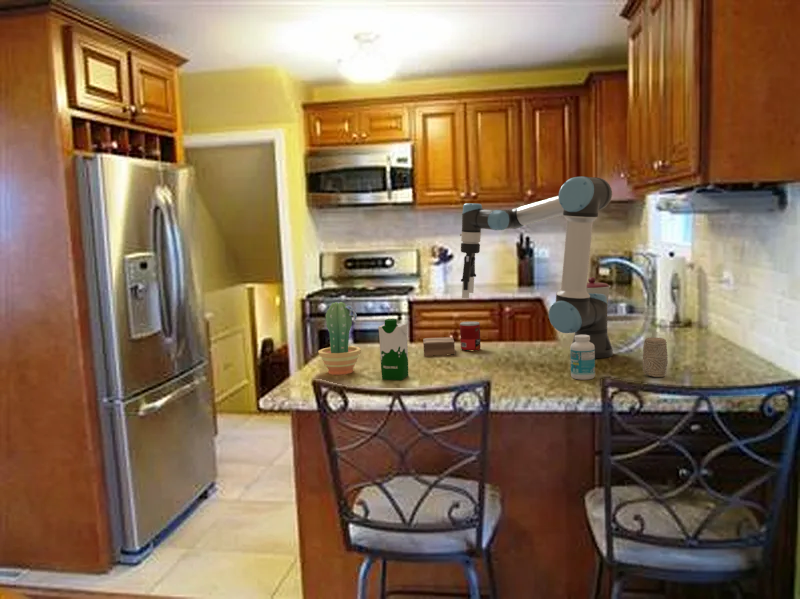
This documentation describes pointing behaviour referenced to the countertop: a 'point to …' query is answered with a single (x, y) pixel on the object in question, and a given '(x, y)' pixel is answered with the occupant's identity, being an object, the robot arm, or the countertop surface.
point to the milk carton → (393, 350)
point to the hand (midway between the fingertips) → (467, 295)
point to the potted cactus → (339, 340)
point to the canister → (597, 287)
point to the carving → (655, 357)
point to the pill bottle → (582, 358)
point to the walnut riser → (438, 346)
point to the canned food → (470, 335)
